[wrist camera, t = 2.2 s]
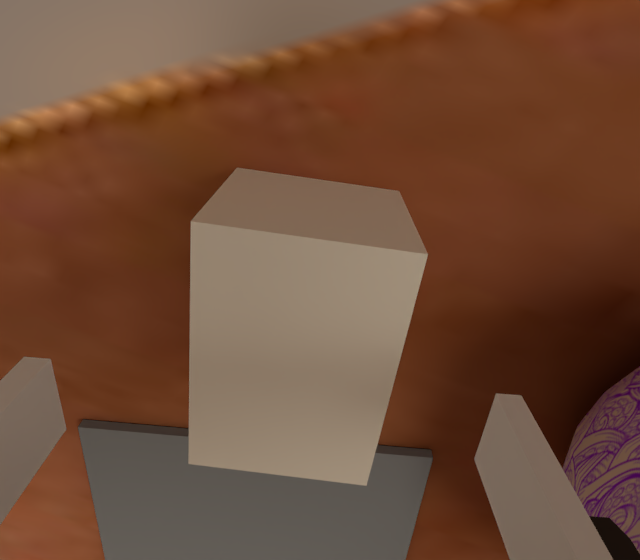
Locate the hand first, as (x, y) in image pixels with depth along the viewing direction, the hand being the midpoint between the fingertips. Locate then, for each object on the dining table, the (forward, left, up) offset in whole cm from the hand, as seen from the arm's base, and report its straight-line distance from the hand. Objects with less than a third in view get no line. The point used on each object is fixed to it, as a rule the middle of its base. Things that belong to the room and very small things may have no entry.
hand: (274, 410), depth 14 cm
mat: (+2, +17, -9) cm, 19 cm away
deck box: (0, 0, -9) cm, 9 cm away
